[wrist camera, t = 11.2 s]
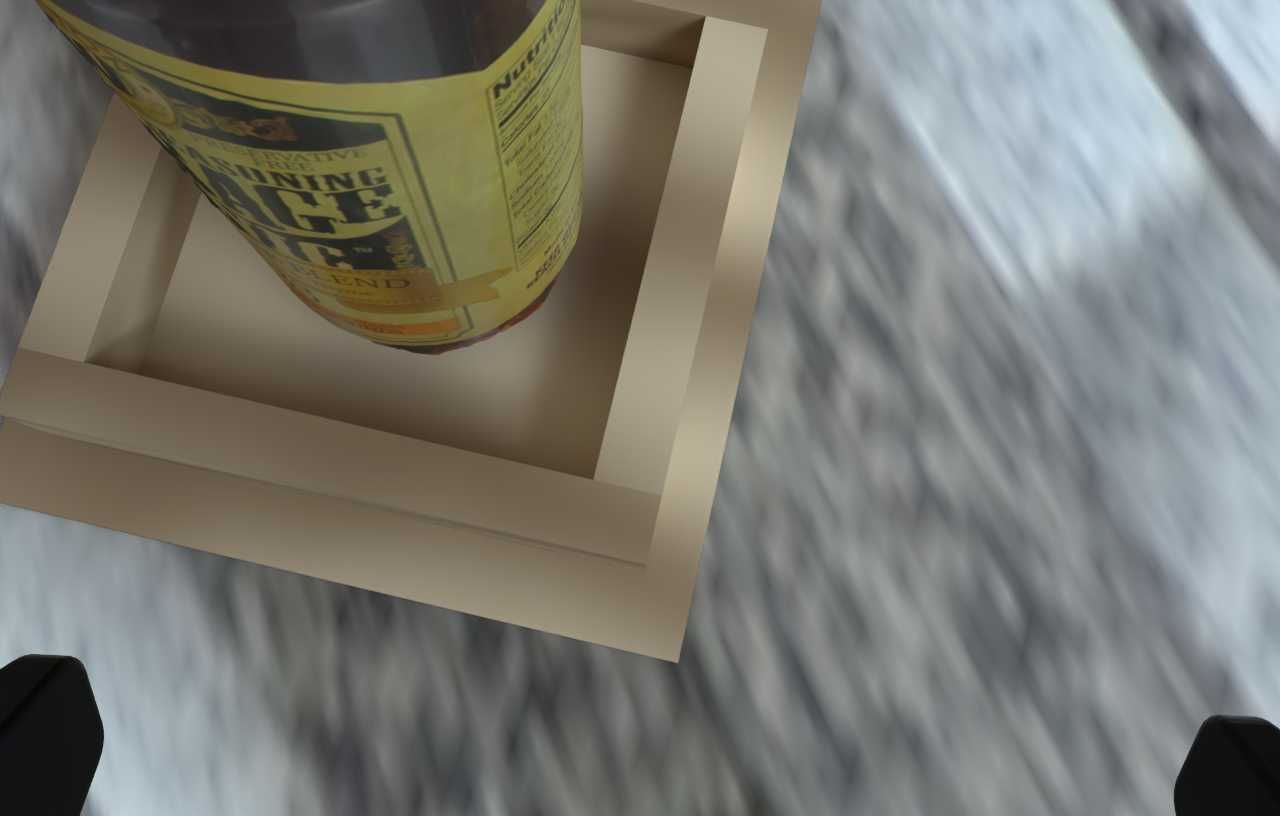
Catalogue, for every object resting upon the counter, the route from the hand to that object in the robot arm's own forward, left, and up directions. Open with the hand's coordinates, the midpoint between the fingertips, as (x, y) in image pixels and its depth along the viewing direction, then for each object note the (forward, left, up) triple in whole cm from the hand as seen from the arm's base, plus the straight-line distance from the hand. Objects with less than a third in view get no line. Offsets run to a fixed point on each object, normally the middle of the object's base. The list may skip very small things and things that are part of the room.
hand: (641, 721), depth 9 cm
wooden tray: (+8, +6, -12) cm, 16 cm away
